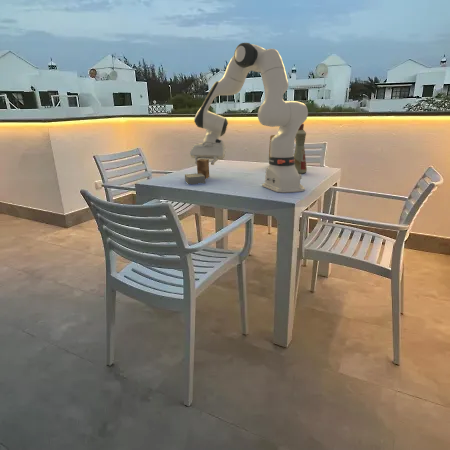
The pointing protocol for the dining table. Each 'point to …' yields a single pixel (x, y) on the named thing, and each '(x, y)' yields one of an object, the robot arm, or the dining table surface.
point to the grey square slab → (195, 178)
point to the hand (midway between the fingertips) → (204, 164)
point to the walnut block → (203, 167)
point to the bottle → (300, 151)
